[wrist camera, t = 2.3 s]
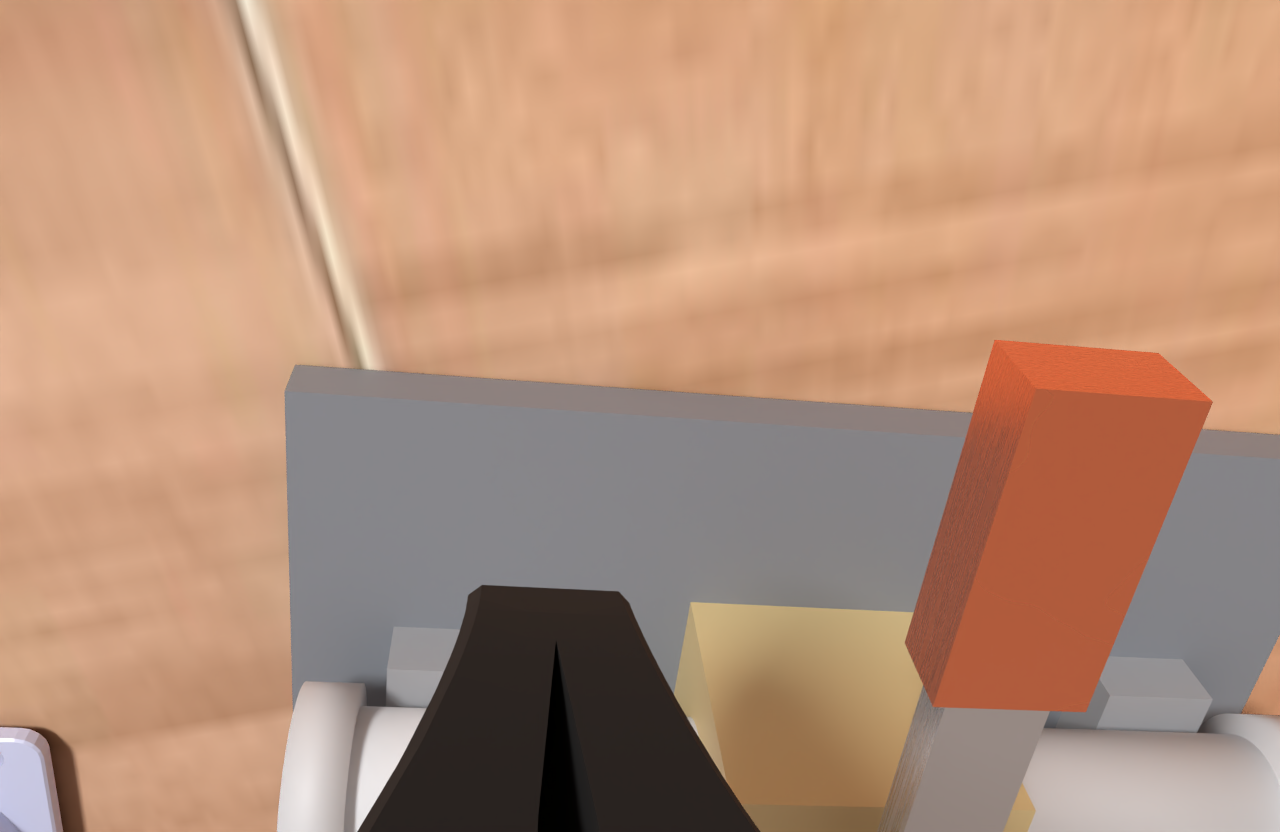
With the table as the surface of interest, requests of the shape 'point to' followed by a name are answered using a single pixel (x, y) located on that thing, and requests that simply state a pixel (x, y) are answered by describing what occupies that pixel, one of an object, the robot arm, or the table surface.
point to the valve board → (747, 592)
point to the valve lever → (1034, 566)
